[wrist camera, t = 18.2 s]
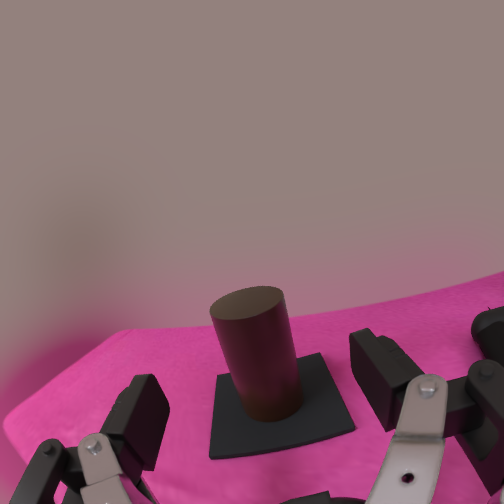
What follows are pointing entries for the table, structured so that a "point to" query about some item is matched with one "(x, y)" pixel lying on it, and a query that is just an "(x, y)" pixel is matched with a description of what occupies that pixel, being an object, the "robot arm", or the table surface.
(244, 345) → the dark brown cylinder
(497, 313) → the door handle
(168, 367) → the table surface
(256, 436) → the black mat
